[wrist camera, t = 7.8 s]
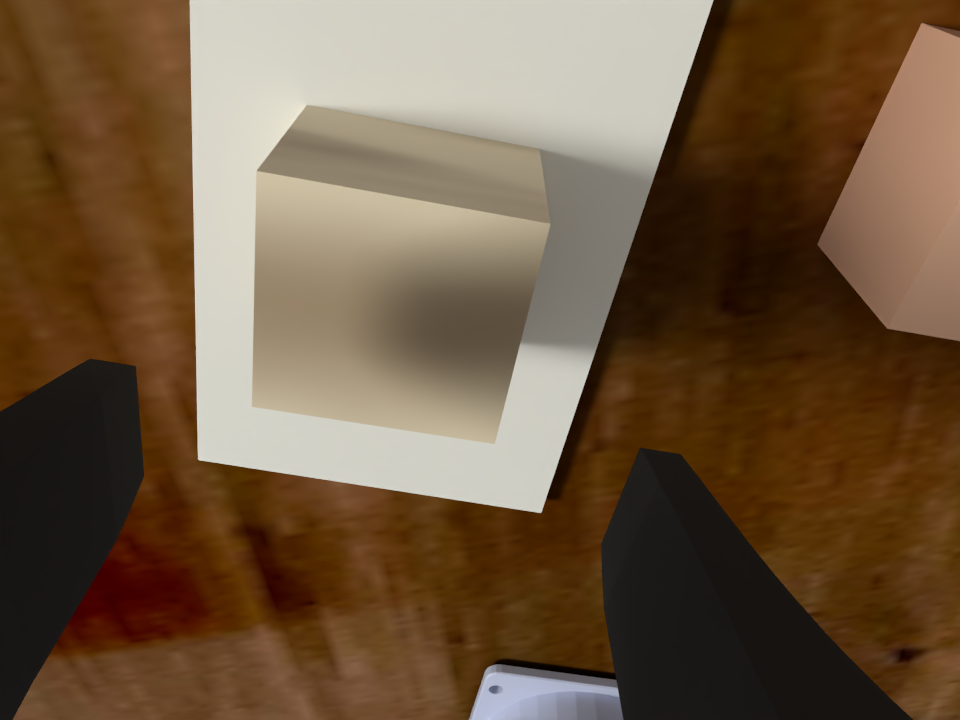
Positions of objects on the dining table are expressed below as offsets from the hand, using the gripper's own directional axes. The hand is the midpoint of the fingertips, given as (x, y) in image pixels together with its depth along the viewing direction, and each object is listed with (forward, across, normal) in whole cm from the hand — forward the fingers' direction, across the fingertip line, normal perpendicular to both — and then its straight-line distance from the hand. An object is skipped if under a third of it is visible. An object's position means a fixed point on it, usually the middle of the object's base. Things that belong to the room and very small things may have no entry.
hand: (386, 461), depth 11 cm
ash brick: (+8, 0, 0) cm, 8 cm away
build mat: (+8, 0, 0) cm, 8 cm away
